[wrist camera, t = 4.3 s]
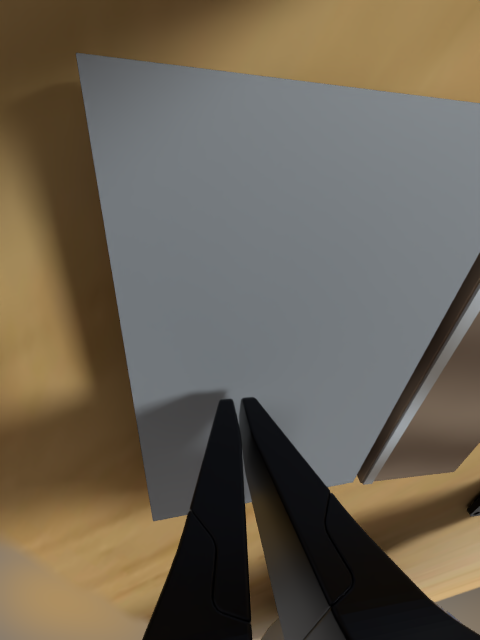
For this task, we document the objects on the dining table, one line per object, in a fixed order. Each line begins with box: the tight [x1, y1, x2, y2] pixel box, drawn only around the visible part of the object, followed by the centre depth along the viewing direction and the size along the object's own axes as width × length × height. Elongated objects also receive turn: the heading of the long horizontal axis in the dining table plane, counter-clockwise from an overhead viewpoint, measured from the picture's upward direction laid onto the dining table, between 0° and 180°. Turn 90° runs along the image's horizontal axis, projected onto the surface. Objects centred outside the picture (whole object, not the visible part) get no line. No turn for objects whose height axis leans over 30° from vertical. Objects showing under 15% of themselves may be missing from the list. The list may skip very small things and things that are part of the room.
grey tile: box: [76, 53, 480, 521], centre depth 11 cm, size 16×10×1 cm, turn 175°
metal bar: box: [357, 253, 480, 485], centre depth 13 cm, size 16×6×2 cm, turn 175°
